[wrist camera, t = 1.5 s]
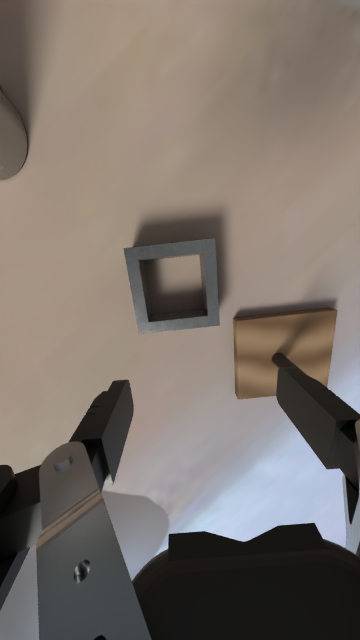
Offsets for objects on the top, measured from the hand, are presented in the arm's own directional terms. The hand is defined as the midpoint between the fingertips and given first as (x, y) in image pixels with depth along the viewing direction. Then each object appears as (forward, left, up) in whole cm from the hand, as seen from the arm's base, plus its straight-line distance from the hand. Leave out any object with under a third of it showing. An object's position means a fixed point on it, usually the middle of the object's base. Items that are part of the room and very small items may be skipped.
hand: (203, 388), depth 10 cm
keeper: (+9, +14, -20) cm, 26 cm away
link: (-4, -1, -20) cm, 20 cm away
